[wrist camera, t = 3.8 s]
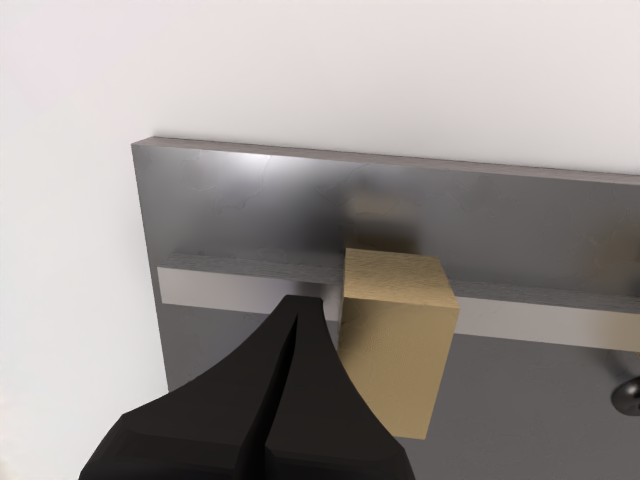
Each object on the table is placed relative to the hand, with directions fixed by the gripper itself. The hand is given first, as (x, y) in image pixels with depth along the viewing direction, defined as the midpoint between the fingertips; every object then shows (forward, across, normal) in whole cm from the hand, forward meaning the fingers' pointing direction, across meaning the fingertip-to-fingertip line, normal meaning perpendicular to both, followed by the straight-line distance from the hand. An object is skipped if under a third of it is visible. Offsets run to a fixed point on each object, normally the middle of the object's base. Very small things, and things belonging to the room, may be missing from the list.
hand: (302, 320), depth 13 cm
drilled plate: (+4, -5, +4) cm, 8 cm away
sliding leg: (+2, -3, +1) cm, 4 cm away
